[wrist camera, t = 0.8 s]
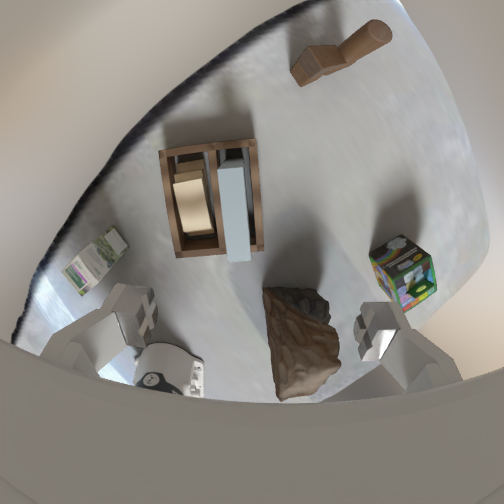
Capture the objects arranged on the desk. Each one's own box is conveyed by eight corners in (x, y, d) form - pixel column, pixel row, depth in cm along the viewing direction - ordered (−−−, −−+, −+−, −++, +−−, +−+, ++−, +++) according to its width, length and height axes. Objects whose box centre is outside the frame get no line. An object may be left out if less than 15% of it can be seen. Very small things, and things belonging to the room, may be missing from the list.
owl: (323, 286, 55) (354, 353, 37) (313, 333, 60) (333, 401, 42) (262, 285, 55) (270, 357, 36) (258, 333, 60) (263, 406, 41)
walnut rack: (262, 240, 51) (264, 250, 46) (181, 246, 51) (176, 258, 46) (254, 138, 43) (256, 138, 39) (166, 149, 43) (158, 150, 39)
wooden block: (288, 71, 38) (313, 36, 22) (339, 49, 36) (383, 15, 20) (300, 88, 40) (331, 62, 23) (349, 66, 38) (399, 39, 21)
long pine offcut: (215, 228, 50) (214, 233, 48) (191, 231, 50) (188, 236, 48) (204, 158, 45) (202, 159, 43) (179, 162, 45) (176, 164, 43)
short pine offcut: (212, 223, 45) (211, 227, 43) (186, 228, 45) (183, 232, 44) (203, 176, 42) (201, 178, 40) (176, 182, 42) (172, 184, 40)
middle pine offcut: (213, 225, 47) (212, 228, 45) (188, 228, 47) (185, 232, 46) (203, 168, 43) (201, 169, 41) (177, 173, 43) (174, 174, 42)
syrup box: (96, 240, 50) (59, 272, 36) (113, 224, 48) (76, 254, 35) (113, 261, 52) (80, 298, 38) (131, 246, 50) (99, 283, 37)
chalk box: (378, 285, 56) (409, 326, 42) (366, 253, 52) (400, 291, 39) (411, 265, 54) (447, 300, 41) (402, 232, 51) (442, 263, 37)
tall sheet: (249, 224, 49) (251, 260, 36) (232, 225, 49) (228, 262, 36) (243, 157, 45) (242, 167, 31) (225, 159, 45) (217, 169, 31)
